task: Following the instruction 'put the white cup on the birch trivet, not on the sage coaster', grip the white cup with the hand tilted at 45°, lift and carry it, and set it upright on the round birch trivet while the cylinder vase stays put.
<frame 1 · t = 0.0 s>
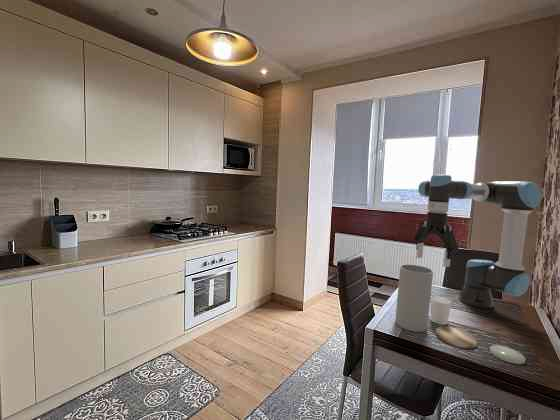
hand: (432, 261, 120), 28 cm above the table, tool pointing down, fingers open, 13 cm apart
cylinder vase: (410, 325, 122), on the table
sage coaster: (506, 355, 103), on the table
white cup: (438, 321, 127), on the table
birch trivet: (455, 338, 113), on the table
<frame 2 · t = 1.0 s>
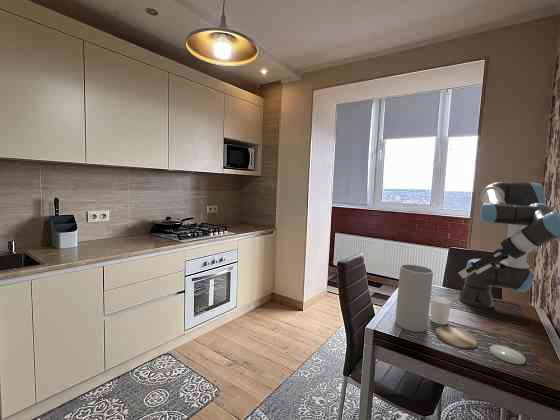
hand: (468, 273, 117), 25 cm above the table, tool tilted 45°, fingers open, 13 cm apart
nothing on the table moved.
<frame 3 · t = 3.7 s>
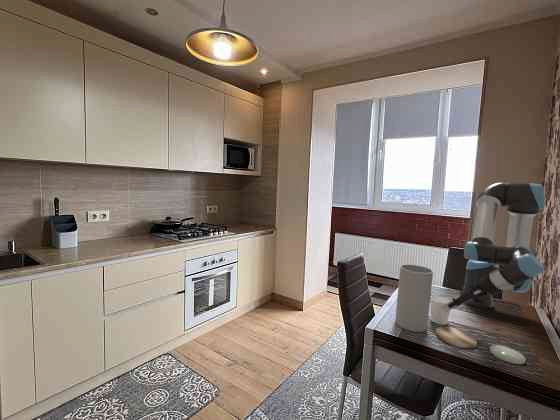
hand: (450, 306, 122), 9 cm above the table, tool tilted 45°, fingers open, 13 cm apart
nothing on the table moved.
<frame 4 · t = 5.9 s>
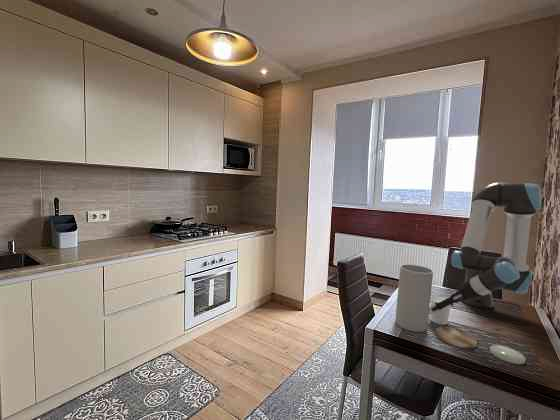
hand: (431, 310, 130), 4 cm above the table, tool tilted 45°, fingers closed on white cup, 8 cm apart
white cup: (438, 321, 127), on the table, touching gripper
everything else where it was.
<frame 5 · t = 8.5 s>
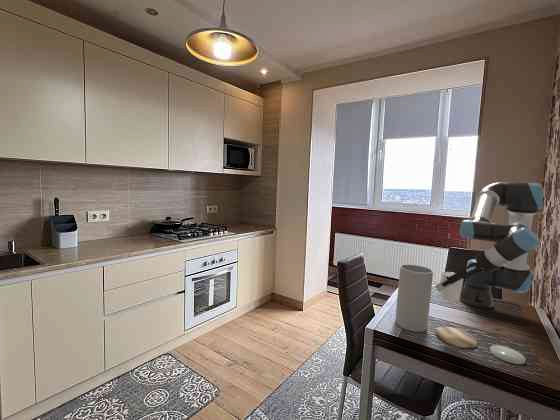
hand: (442, 287, 120), 18 cm above the table, tool tilted 45°, fingers closed on white cup, 8 cm apart
white cup: (449, 298, 118), point 14 cm above the table, touching gripper
everything else where it was.
when the fingers open (6 cm above the table, at t = 11.3 s): white cup drops 1 cm, resting on birch trivet.
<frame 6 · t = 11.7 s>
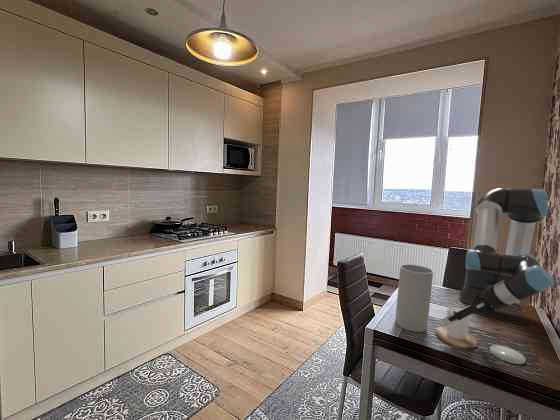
hand: (450, 318, 114), 7 cm above the table, tool tilted 45°, fingers open, 13 cm apart
white cup: (456, 335, 113), point 1 cm above the table, touching birch trivet
everything else where it was.
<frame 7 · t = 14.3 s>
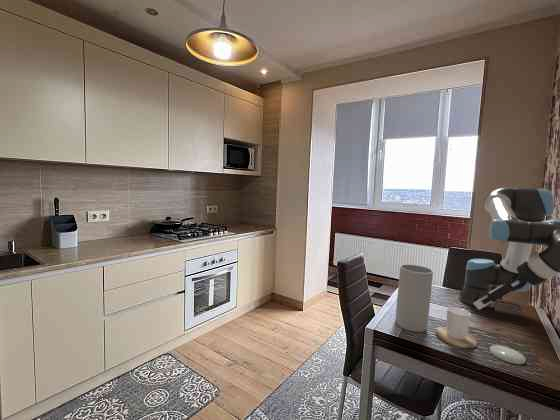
hand: (483, 301, 107), 18 cm above the table, tool tilted 40°, fingers open, 13 cm apart
nothing on the table moved.
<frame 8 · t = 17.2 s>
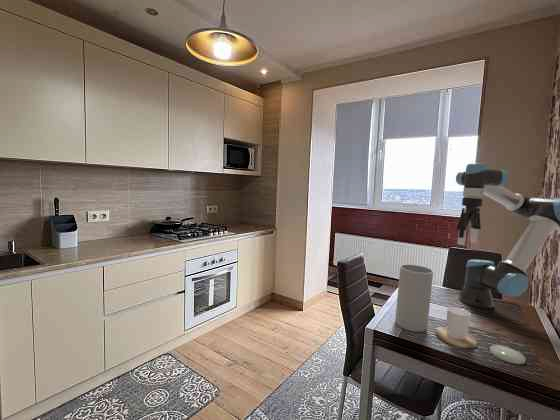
hand: (467, 243, 131), 35 cm above the table, tool pointing down, fingers open, 13 cm apart
nothing on the table moved.
at the end: white cup 0.2 cm off-centre on the birch trivet, point 1.0 cm above the birch trivet's base; white cup tilted 0°; cylinder vase moved 0.2 cm from its start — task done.
